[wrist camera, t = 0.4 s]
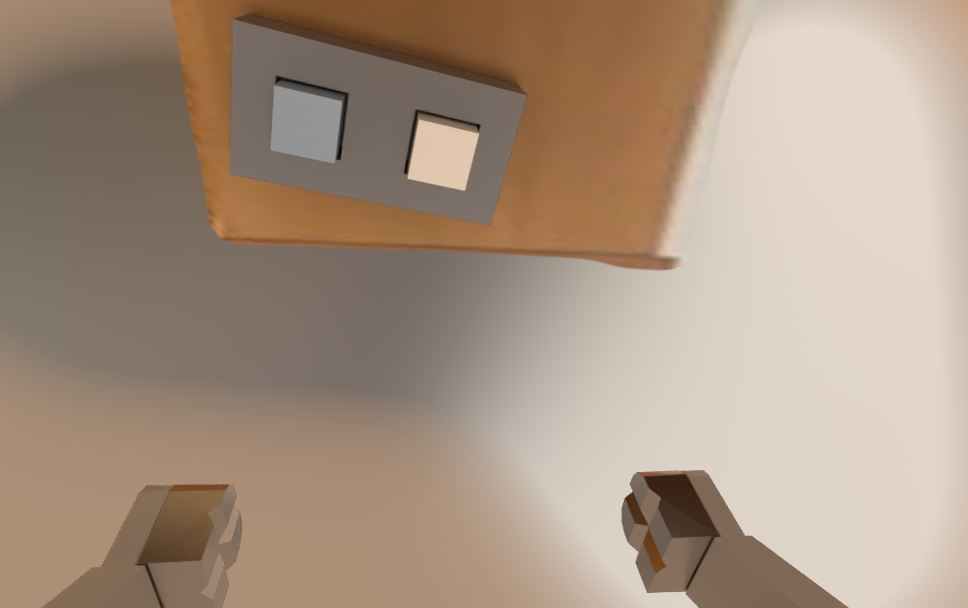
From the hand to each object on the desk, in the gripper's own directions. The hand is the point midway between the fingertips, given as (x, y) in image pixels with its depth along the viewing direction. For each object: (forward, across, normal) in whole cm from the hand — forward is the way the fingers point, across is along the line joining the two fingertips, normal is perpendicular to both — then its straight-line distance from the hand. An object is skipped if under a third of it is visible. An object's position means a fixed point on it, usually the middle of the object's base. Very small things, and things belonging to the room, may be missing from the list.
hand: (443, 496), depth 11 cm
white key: (+40, -2, +4) cm, 40 cm away
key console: (+44, +3, +3) cm, 44 cm away
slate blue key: (+40, +9, +2) cm, 41 cm away
